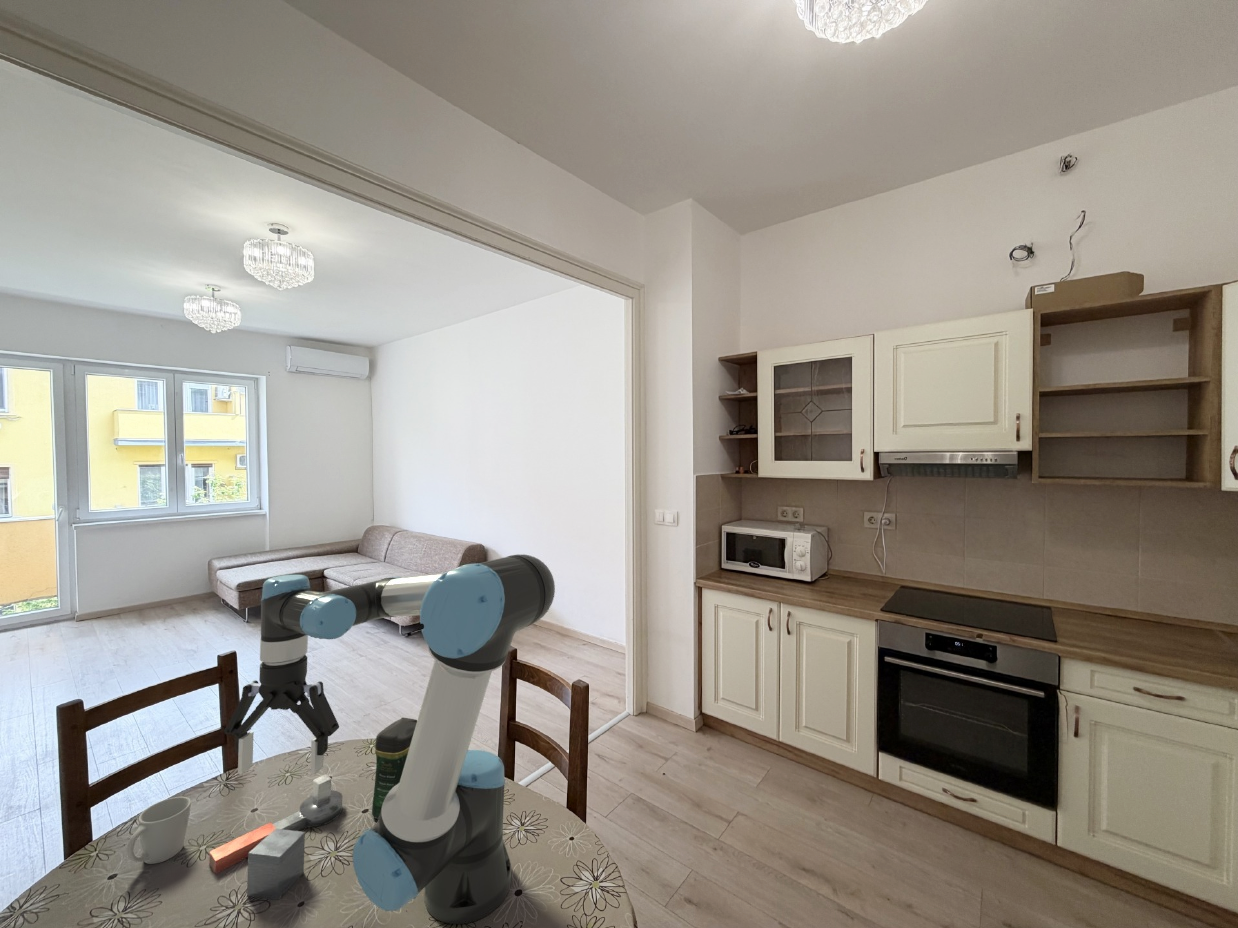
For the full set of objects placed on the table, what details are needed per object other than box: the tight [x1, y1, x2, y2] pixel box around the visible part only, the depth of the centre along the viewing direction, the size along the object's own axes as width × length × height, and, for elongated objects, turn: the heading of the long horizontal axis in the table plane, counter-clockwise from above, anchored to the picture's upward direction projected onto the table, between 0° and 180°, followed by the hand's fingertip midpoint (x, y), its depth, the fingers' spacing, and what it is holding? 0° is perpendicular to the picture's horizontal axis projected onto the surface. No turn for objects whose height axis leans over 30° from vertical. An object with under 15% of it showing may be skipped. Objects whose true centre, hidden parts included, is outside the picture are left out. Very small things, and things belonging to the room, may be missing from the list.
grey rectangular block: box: [246, 829, 306, 901], centre depth 90 cm, size 6×6×8 cm
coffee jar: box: [371, 717, 418, 820], centre depth 110 cm, size 10×8×19 cm
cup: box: [126, 796, 192, 865], centre depth 95 cm, size 8×10×8 cm
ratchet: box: [208, 773, 343, 875], centre depth 102 cm, size 23×8×8 cm, turn 144°
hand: (281, 770), depth 94 cm, fingers open, 13 cm apart
